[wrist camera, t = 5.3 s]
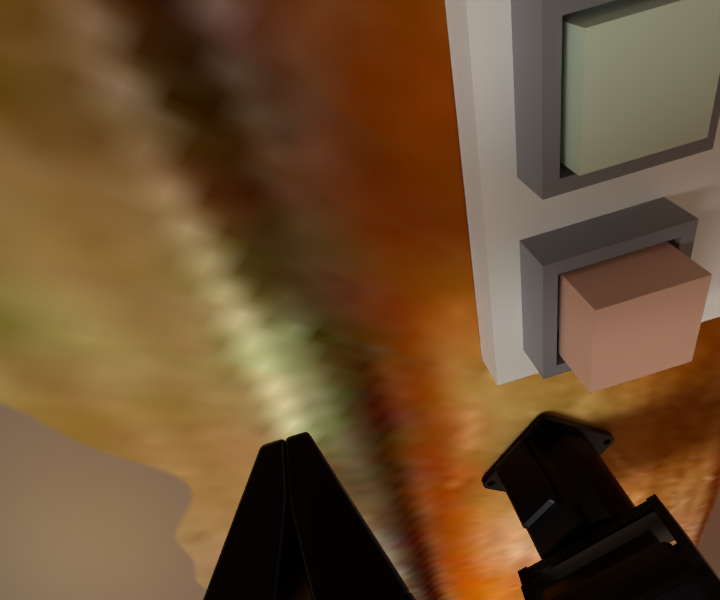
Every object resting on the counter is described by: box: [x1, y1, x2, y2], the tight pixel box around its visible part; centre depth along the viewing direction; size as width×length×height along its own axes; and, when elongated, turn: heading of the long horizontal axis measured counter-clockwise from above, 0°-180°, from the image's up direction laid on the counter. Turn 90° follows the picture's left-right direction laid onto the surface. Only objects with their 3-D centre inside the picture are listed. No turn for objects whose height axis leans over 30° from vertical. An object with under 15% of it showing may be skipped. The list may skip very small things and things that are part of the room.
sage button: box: [560, 0, 720, 176], centre depth 17 cm, size 4×4×2 cm
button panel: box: [445, 0, 720, 385], centre depth 18 cm, size 28×12×4 cm, turn 12°
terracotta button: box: [558, 241, 712, 393], centre depth 21 cm, size 4×4×2 cm
